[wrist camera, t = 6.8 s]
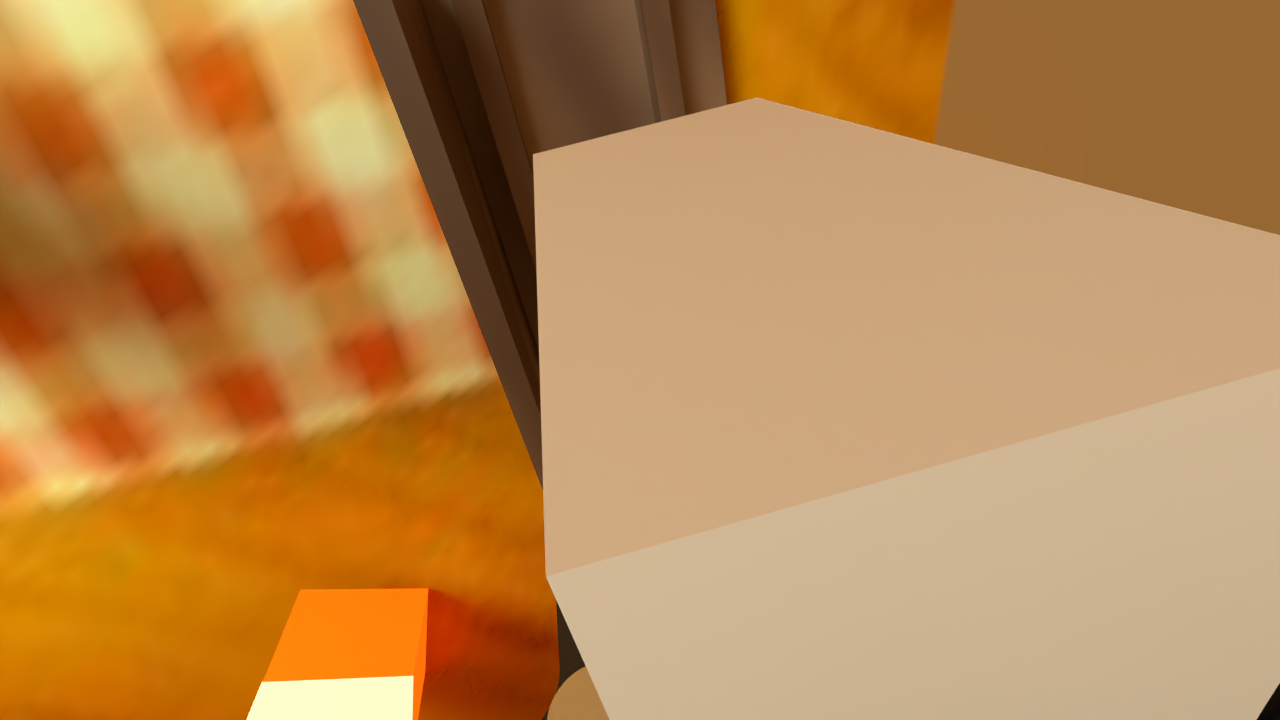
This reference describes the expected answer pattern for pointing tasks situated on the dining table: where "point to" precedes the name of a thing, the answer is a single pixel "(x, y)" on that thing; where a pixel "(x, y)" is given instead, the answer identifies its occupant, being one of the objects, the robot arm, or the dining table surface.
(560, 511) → the white rectangular block
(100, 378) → the dining table surface
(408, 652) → the orange juice
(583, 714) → the robot arm
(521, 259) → the picture ledge
